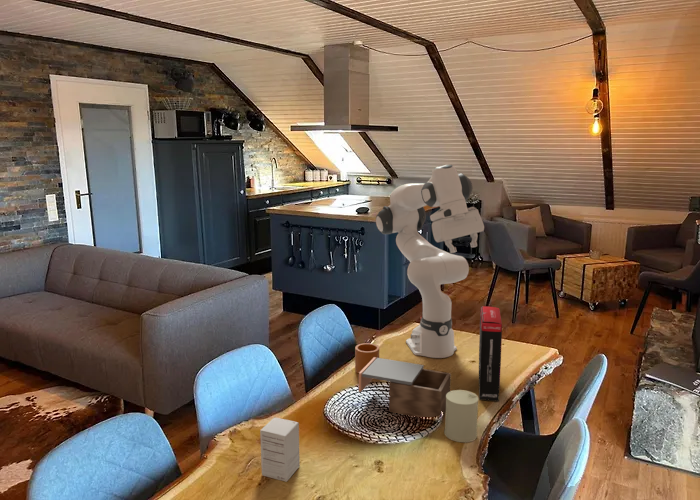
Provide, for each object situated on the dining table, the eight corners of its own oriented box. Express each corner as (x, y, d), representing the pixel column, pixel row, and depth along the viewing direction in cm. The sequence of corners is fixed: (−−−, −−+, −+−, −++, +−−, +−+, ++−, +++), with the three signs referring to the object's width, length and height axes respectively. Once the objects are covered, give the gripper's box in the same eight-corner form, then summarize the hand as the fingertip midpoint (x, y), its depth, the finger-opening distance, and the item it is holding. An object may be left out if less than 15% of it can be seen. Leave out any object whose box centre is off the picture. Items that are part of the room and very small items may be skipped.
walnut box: (389, 412, 169) (389, 382, 167) (402, 393, 182) (403, 365, 180) (439, 422, 163) (440, 391, 161) (449, 402, 176) (451, 373, 174)
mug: (388, 366, 204) (388, 344, 202) (370, 378, 195) (371, 354, 193) (368, 360, 209) (368, 338, 207) (350, 371, 200) (350, 348, 198)
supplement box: (275, 460, 144) (274, 416, 141) (300, 466, 141) (299, 421, 139) (260, 475, 137) (259, 429, 135) (286, 482, 134) (285, 435, 132)
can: (482, 440, 154) (484, 401, 151) (451, 444, 152) (453, 404, 149) (468, 424, 162) (470, 386, 160) (439, 427, 161) (441, 389, 158)
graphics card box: (499, 403, 176) (504, 322, 170) (477, 401, 177) (481, 320, 172) (496, 380, 192) (500, 306, 187) (476, 379, 193) (480, 305, 188)
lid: (358, 391, 172) (358, 373, 171) (373, 374, 185) (374, 357, 184) (411, 401, 166) (411, 382, 165) (423, 383, 178) (423, 365, 177)
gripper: (470, 207, 195) (480, 245, 195) (426, 217, 185) (435, 257, 185) (482, 204, 189) (492, 242, 189) (437, 213, 179) (447, 254, 179)
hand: (464, 249), depth 187 cm, fingers open, 8 cm apart
